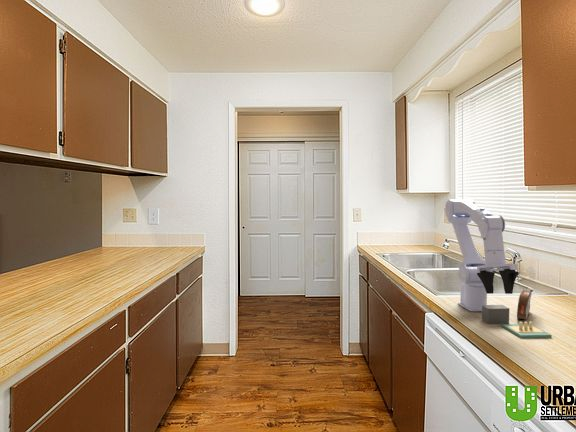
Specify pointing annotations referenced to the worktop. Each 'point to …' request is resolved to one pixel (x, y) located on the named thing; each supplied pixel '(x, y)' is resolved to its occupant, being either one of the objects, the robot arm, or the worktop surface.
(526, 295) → the tin
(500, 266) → the robot arm
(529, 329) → the board
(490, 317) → the block
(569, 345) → the worktop surface
